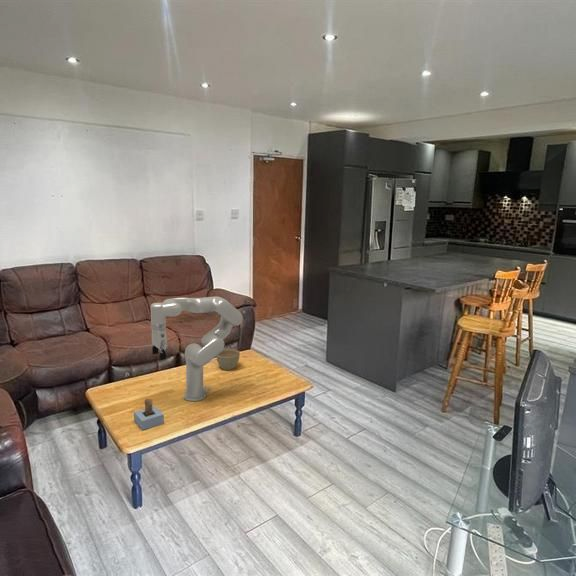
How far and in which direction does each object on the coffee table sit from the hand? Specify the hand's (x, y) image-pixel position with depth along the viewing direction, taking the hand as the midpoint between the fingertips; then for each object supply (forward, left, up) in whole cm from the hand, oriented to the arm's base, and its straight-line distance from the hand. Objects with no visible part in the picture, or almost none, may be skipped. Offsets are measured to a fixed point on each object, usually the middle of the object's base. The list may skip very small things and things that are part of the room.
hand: (159, 356), depth 222 cm
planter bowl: (-58, -23, -29) cm, 69 cm away
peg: (+12, +14, -28) cm, 34 cm away
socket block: (+12, +14, -28) cm, 34 cm away
